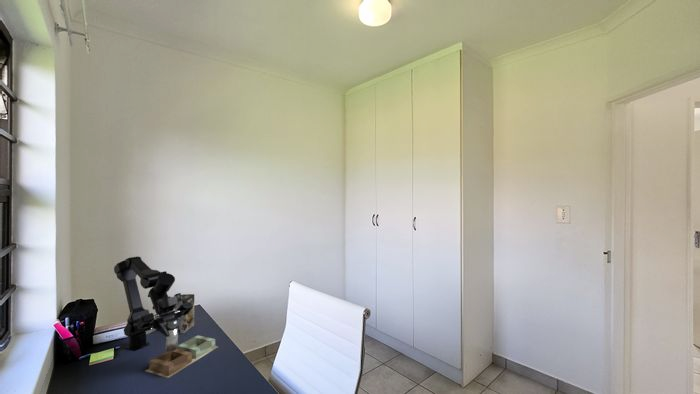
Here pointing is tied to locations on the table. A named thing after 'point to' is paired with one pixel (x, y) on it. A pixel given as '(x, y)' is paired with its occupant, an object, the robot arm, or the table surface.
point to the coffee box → (188, 319)
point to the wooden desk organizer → (181, 356)
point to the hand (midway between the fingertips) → (173, 334)
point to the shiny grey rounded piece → (172, 334)
